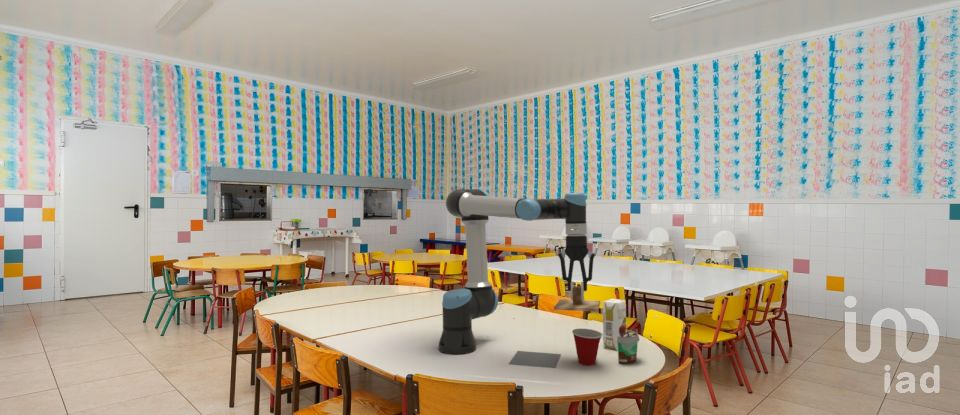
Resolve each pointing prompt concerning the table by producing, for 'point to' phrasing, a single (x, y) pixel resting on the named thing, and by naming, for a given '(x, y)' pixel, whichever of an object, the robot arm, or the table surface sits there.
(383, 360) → the table surface
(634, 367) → the table surface
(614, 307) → the juice carton
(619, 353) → the food container
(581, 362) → the plastic cup
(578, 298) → the lid
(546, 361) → the mat
